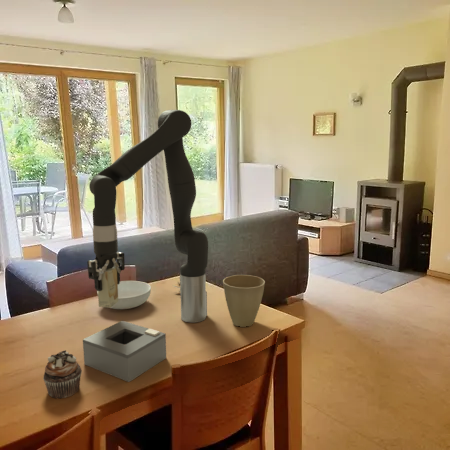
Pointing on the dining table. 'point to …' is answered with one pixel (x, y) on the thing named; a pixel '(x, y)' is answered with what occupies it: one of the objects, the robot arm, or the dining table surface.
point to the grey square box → (124, 350)
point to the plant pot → (243, 298)
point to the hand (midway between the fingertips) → (108, 287)
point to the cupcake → (62, 375)
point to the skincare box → (108, 288)
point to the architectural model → (177, 285)
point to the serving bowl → (131, 294)
